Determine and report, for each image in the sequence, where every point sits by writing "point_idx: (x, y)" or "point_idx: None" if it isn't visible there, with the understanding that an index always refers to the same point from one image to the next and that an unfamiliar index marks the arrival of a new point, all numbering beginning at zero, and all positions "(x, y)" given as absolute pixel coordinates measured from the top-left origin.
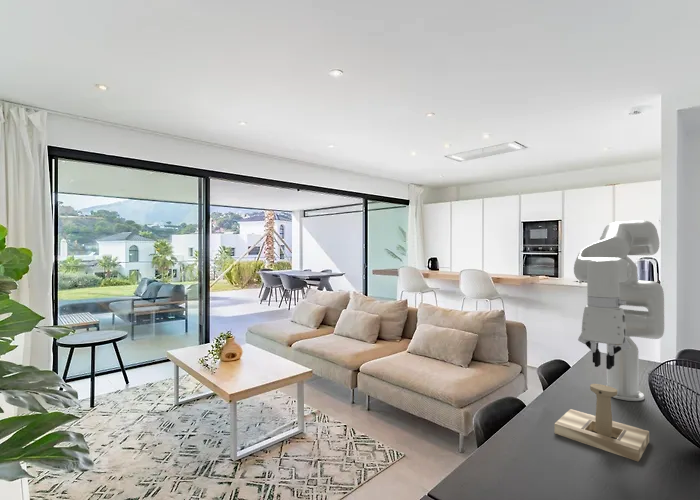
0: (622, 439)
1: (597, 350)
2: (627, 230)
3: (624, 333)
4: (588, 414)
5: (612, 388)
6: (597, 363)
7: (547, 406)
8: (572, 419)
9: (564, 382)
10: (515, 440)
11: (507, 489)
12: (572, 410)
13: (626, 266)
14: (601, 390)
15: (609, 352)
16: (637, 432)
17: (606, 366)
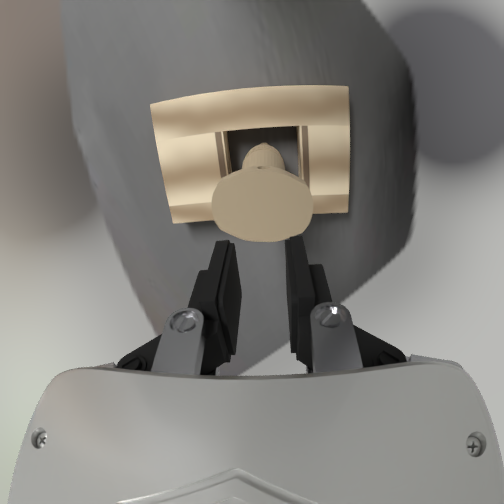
0: (312, 185)
1: (222, 359)
2: None
3: (491, 447)
4: (198, 98)
5: (291, 189)
6: (239, 308)
7: (95, 90)
8: (186, 166)
9: None
10: (159, 288)
11: (231, 372)
12: (158, 109)
13: None
14: (266, 241)
15: (311, 368)
16: (329, 115)
17: (287, 300)
